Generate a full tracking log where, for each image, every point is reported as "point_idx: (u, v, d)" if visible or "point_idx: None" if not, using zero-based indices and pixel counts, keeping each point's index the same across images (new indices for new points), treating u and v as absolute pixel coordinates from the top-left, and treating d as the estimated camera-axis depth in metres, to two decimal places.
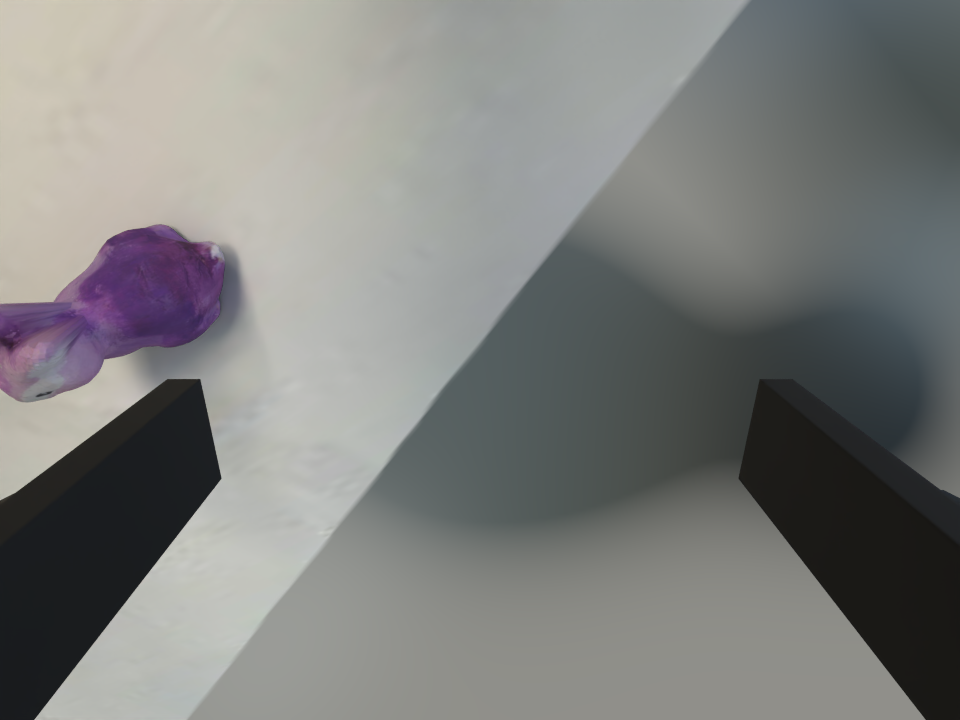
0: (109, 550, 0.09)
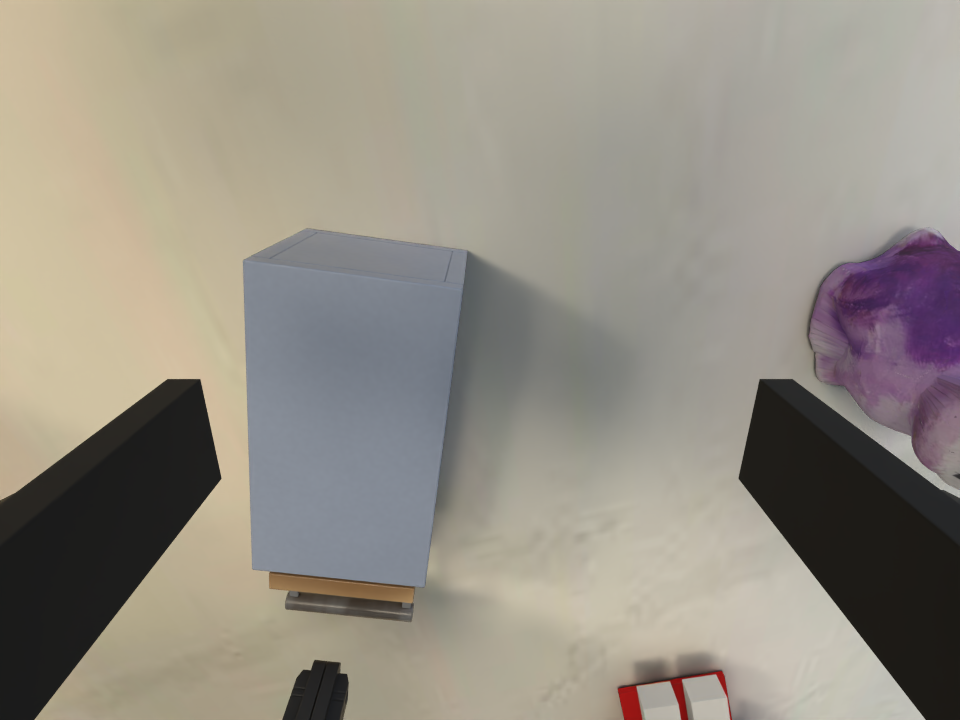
0: (109, 550, 0.09)
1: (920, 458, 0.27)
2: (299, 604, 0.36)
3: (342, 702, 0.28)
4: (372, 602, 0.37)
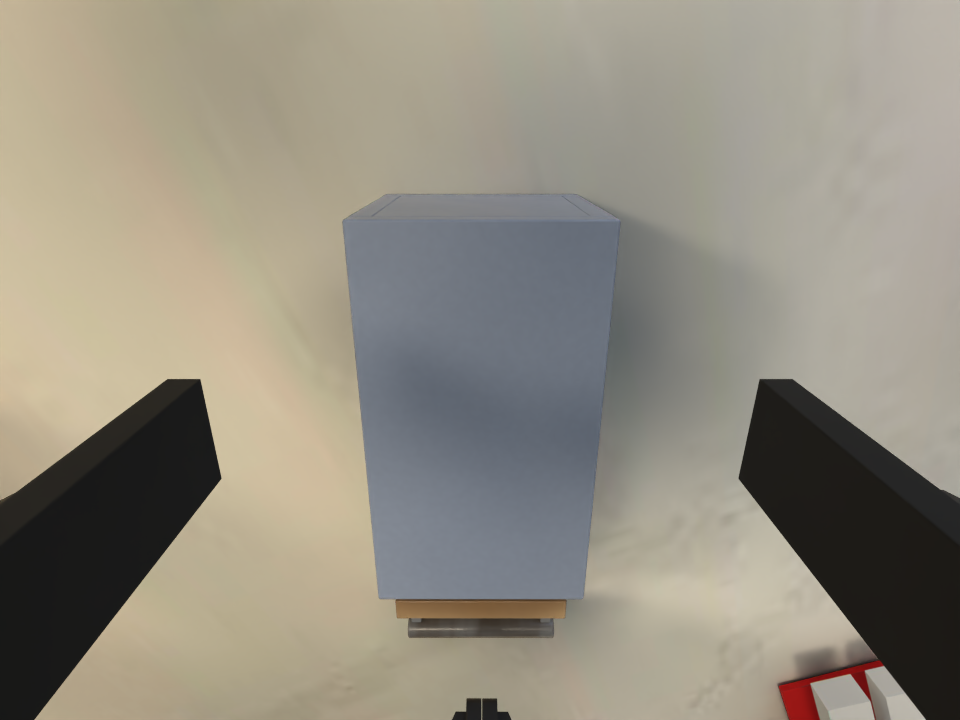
0: (109, 550, 0.09)
1: None
2: (423, 630, 0.32)
3: None
4: (505, 619, 0.32)
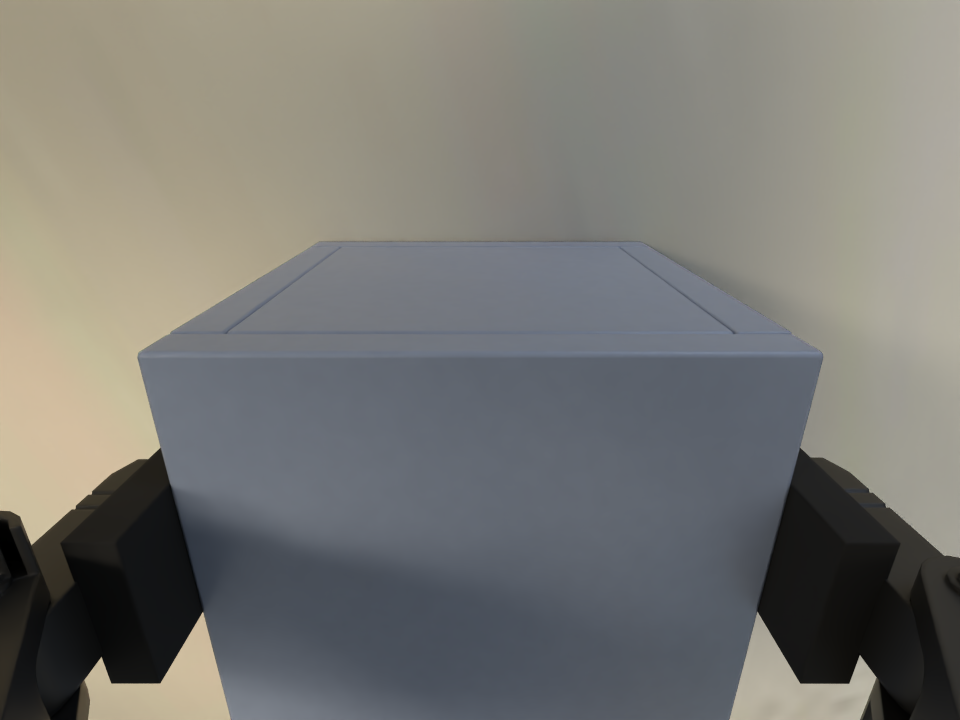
0: None
1: None
2: None
3: None
4: None
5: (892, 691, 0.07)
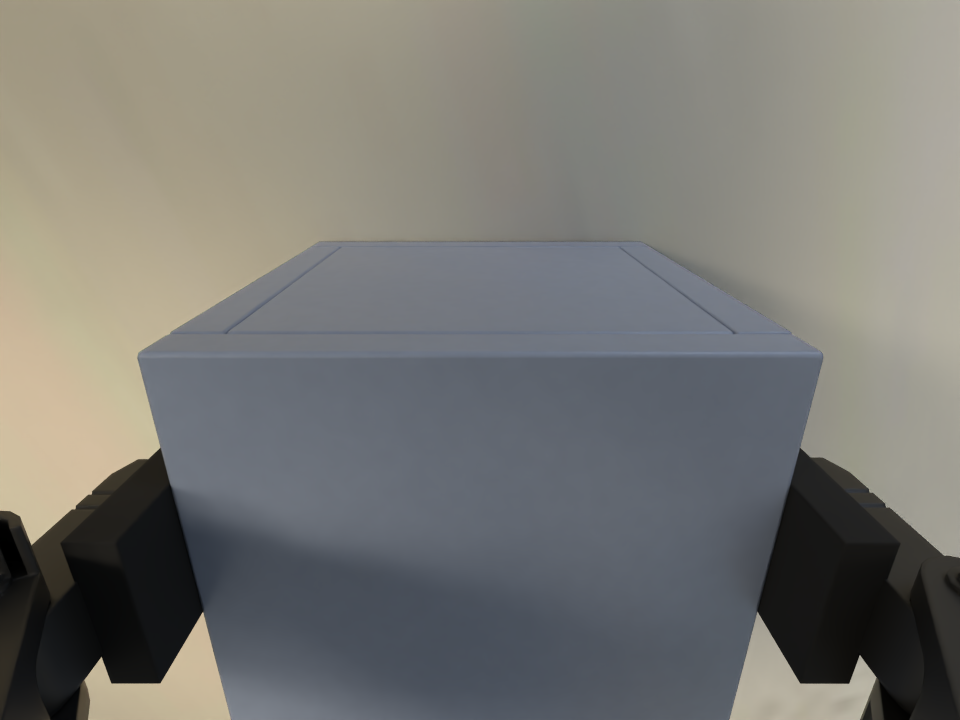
0: None
1: None
2: None
3: None
4: None
5: (892, 691, 0.07)
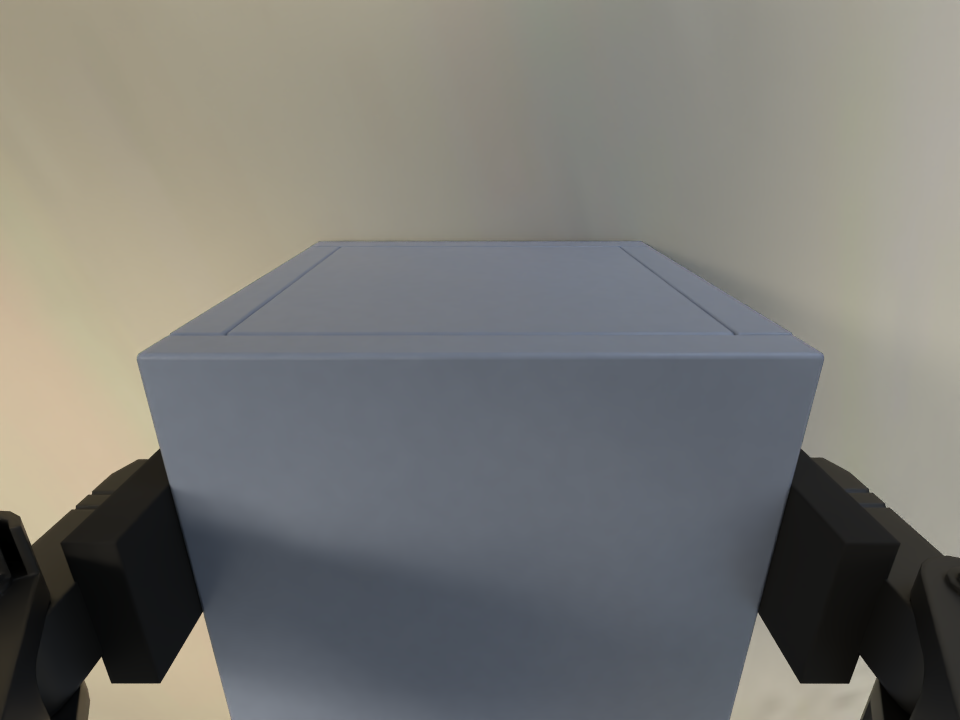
0: None
1: None
2: None
3: None
4: None
5: (892, 691, 0.07)
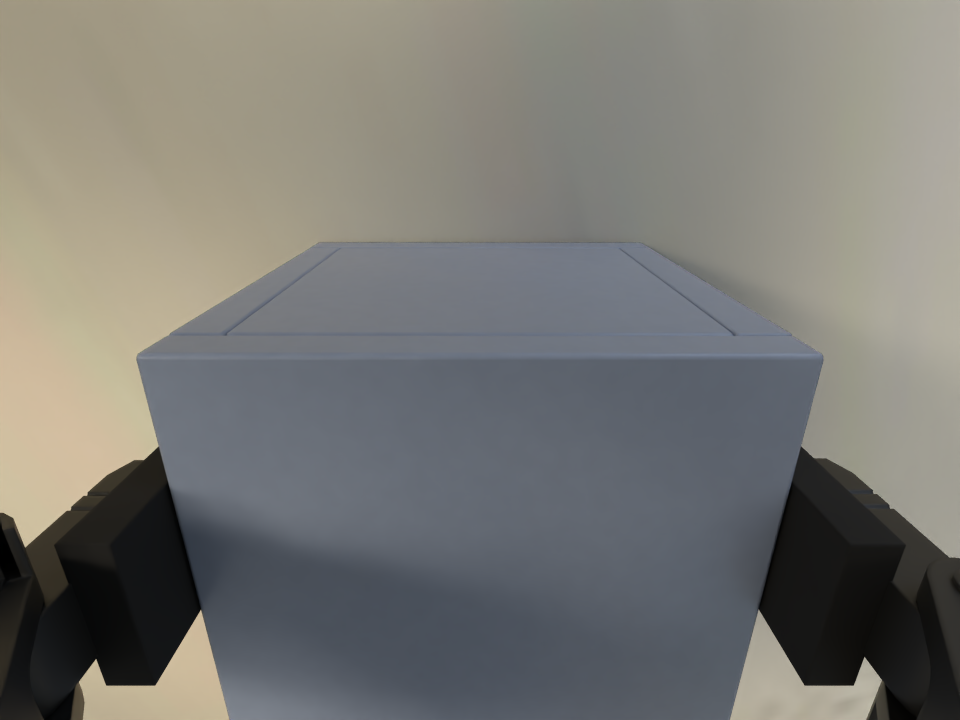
0: None
1: None
2: None
3: None
4: None
5: (898, 693, 0.07)
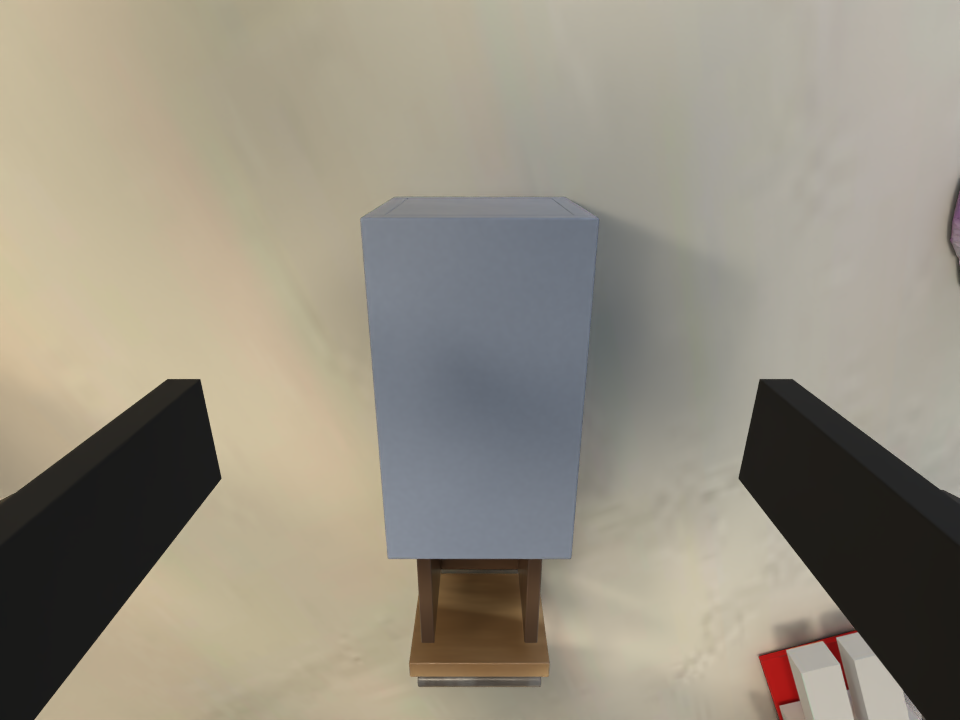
0: (109, 550, 0.09)
1: None
2: (431, 680, 0.38)
3: None
4: None
5: None
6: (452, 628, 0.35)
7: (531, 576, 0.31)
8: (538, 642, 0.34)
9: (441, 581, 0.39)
